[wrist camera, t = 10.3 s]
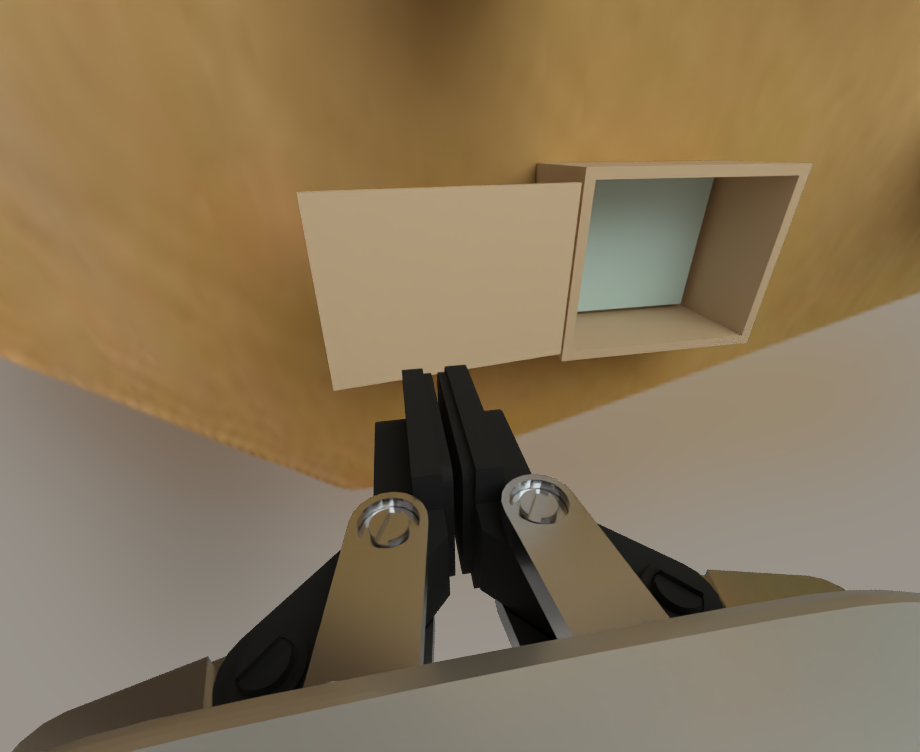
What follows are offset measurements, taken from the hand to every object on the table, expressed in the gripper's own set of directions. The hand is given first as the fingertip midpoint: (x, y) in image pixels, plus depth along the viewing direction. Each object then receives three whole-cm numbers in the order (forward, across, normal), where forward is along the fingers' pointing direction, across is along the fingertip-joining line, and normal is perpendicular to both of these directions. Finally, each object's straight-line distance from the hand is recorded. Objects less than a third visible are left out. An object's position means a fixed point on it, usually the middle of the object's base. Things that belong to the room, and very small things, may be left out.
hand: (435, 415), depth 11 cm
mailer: (+20, -16, 0) cm, 25 cm away
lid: (+11, -2, 0) cm, 12 cm away
